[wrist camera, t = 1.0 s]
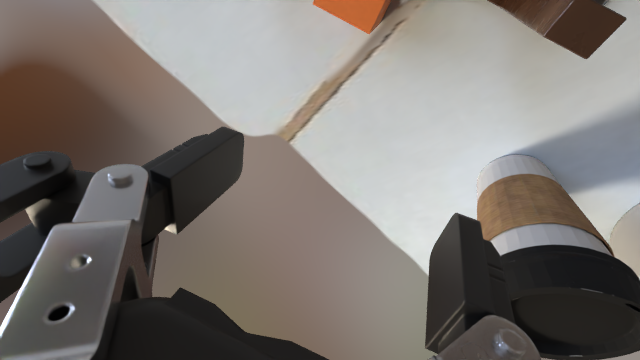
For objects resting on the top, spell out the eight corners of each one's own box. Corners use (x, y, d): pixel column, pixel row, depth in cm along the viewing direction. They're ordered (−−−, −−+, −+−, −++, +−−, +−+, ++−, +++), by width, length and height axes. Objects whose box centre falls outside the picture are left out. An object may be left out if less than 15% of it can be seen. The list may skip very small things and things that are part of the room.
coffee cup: (592, 173, 26) (721, 346, 14) (512, 228, 31) (557, 385, 19) (510, 124, 25) (572, 258, 14) (444, 187, 31) (448, 322, 19)
